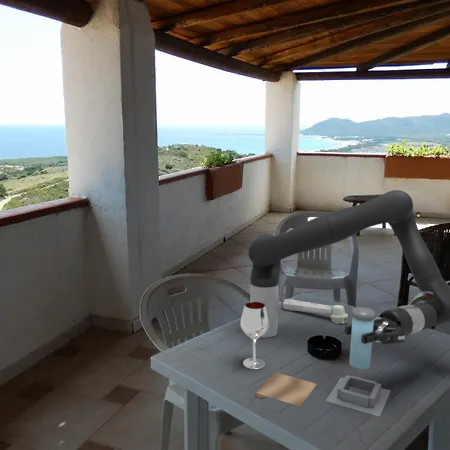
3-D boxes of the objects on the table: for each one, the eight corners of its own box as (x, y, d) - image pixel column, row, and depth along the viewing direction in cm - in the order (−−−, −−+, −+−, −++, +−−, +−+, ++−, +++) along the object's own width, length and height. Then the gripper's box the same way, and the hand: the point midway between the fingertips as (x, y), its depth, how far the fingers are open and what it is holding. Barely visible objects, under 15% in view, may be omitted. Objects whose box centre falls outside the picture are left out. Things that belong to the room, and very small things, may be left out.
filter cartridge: (345, 366, 115) (349, 312, 112) (351, 357, 120) (355, 305, 117) (368, 371, 112) (372, 317, 110) (373, 362, 117) (377, 309, 114)
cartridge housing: (325, 404, 115) (326, 391, 115) (340, 380, 127) (341, 368, 126) (379, 420, 109) (380, 406, 108) (390, 394, 120) (391, 381, 119)
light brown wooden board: (255, 396, 119) (255, 392, 119) (275, 375, 129) (275, 372, 129) (300, 410, 113) (300, 406, 113) (316, 387, 123) (316, 383, 123)
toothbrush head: (286, 297, 180) (349, 302, 165) (288, 313, 181) (350, 320, 166) (280, 300, 176) (343, 306, 161) (281, 317, 177) (344, 325, 162)
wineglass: (271, 359, 138) (272, 302, 135) (264, 372, 131) (265, 312, 127) (244, 355, 141) (245, 298, 137) (236, 368, 133) (236, 308, 130)
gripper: (381, 299, 127) (334, 310, 118) (427, 317, 114) (378, 331, 106) (379, 325, 128) (332, 338, 120) (424, 345, 116) (375, 362, 108)
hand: (354, 335), depth 113 cm, fingers closed on filter cartridge, 5 cm apart
